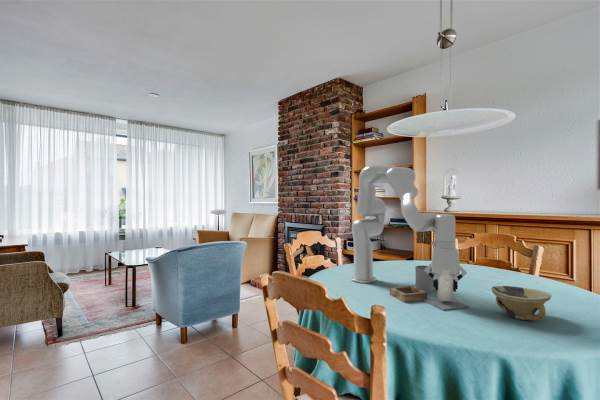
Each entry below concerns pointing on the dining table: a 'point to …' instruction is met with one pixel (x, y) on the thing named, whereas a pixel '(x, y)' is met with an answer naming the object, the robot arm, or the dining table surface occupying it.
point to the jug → (445, 286)
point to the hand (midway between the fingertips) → (445, 289)
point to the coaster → (446, 304)
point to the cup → (424, 279)
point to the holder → (408, 293)
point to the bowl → (521, 302)
